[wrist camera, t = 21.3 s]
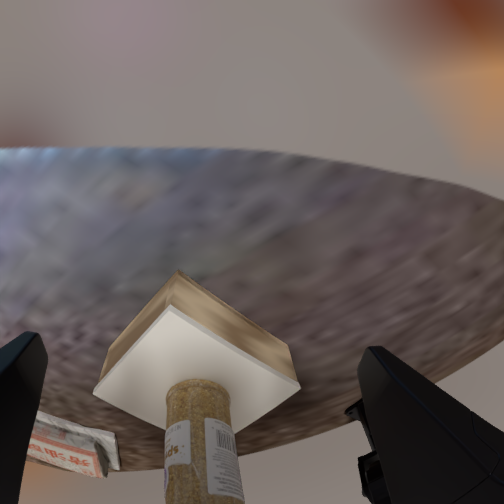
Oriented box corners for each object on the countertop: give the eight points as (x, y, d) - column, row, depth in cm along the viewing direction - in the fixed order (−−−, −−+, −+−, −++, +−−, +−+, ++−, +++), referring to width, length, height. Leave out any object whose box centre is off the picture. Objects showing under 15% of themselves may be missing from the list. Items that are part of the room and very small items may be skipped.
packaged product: (4, 451, 26) (-20, 415, 22) (13, 427, 31) (-7, 388, 27) (117, 489, 30) (110, 463, 26) (121, 461, 34) (116, 429, 30)
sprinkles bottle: (156, 380, 19) (149, 579, 7) (223, 371, 19) (253, 578, 7) (177, 418, 21) (183, 585, 9) (236, 410, 21) (266, 581, 9)
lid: (298, 382, 22) (300, 388, 21) (211, 442, 24) (211, 447, 23) (170, 304, 17) (169, 310, 17) (94, 388, 20) (92, 394, 19)
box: (287, 345, 25) (297, 381, 22) (210, 402, 28) (211, 436, 24) (178, 269, 21) (171, 304, 17) (109, 346, 24) (98, 382, 20)
